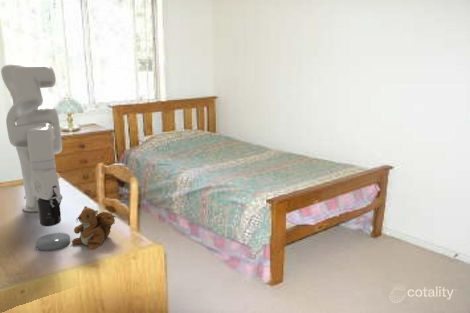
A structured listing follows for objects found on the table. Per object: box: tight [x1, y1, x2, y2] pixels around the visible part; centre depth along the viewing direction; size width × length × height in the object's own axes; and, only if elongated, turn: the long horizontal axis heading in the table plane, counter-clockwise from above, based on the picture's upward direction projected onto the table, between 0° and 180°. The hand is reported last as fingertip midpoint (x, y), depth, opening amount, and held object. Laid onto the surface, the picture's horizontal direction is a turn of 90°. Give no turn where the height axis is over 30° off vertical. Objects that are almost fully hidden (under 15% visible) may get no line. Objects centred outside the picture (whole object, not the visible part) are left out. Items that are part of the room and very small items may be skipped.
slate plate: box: [35, 232, 71, 252], centre depth 148 cm, size 11×11×2 cm
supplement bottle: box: [37, 195, 62, 227], centre depth 145 cm, size 7×7×12 cm
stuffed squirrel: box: [71, 205, 116, 251], centre depth 148 cm, size 10×14×13 cm
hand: (49, 214), depth 146 cm, fingers closed on supplement bottle, 6 cm apart
